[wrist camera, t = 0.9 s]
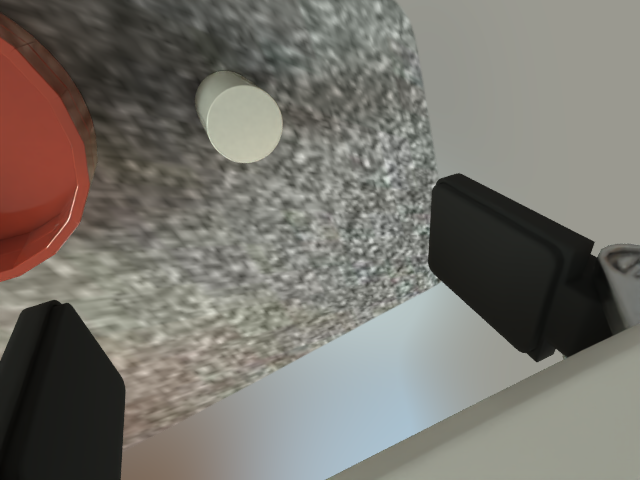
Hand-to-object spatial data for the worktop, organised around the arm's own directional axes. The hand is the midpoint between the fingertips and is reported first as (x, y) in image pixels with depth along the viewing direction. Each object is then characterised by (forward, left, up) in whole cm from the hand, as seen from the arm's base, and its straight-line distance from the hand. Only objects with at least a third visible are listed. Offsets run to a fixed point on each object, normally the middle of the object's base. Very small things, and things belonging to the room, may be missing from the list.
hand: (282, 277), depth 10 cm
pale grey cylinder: (0, +2, -20) cm, 20 cm away
